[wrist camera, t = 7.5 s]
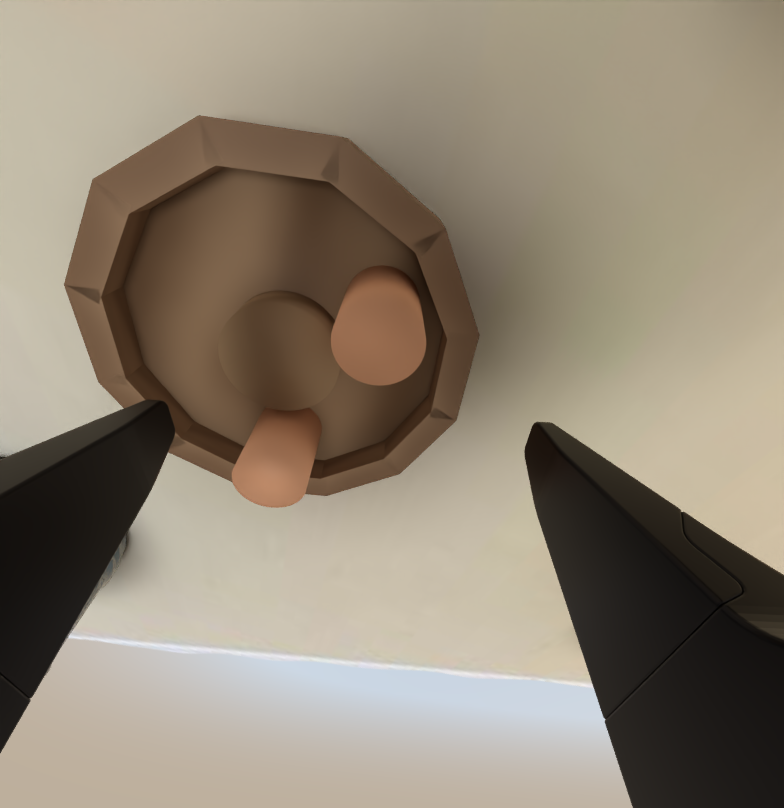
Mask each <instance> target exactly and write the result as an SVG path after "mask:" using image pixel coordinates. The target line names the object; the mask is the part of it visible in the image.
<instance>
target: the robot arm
mask: <svg viewBox="0 0 784 808" xmlns="http://www.w3.org/2000/svg"><path fill="white" fill-rule="evenodd" d="M174 437H175V426H174V423H173V420H172V416H171V413H170V410H169V407H168V405H167V403H166V402H165V401H163V400H144V401H141V402H139V403H136V404H134V405H131V406H129V407H127V408H124V409H122V410H119V411H117V412H114V413H112V414H110V415H107V416H105V417H102V418H100V419H97V420H95V421H93V422H90V423H88V424H85V425H83V426H80V427H78V428H76V429H73V430H71V431H68V432H66V433H63V434H61V435H59V436H56V437H54V438H51V439H49V440H47V441H44V442H42V443H39V444H37V445H34V446H32V447H30V448H27V449H25V450H22V451H20V452H17V453H15V454H13V455H10V456H8V457H5V458H3V459H0V753H1V751H2V749H3V748H4V746H5V744H6V742H7V741H8V739H9V737H10V735H11V734H12V732H13V730H14V729H15V727H16V725H17V723H18V722H19V720H20V718H21V717H22V715H23V713H24V711H25V710H26V708H27V706H28V704H29V702H30V699H29V698H32V696H33V695H34V693H35V692H36V690H37V688H38V686H39V684H40V683H41V681H42V679H43V678H44V676H45V674H46V672H47V671H48V669H49V667H50V666H51V664H52V662H53V660H54V659H55V657H56V655H57V653H58V652H59V650H60V648H61V646H62V645H63V643H64V641H65V639H66V638H67V636H68V634H69V633H70V631H71V629H72V627H73V626H74V624H75V622H76V620H77V619H78V617H79V615H80V613H81V612H82V610H83V608H84V606H85V605H86V603H87V601H88V599H89V598H90V596H91V594H92V593H93V591H94V589H95V587H96V586H97V584H98V582H99V580H100V579H101V577H102V575H103V573H104V572H105V570H106V568H107V566H108V565H109V563H110V561H111V560H112V558H113V556H114V554H115V553H116V551H117V549H118V547H119V546H120V544H121V542H122V540H123V539H124V537H125V535H126V533H127V532H128V530H129V528H130V526H131V525H132V523H133V521H134V520H135V518H136V516H137V514H138V513H139V511H140V509H141V507H142V506H143V504H144V502H145V500H146V499H147V497H148V495H149V493H150V491H151V489H152V487H153V485H154V483H155V481H156V479H157V476H158V474H159V472H160V469H161V467H162V465H163V462H164V460H165V458H166V456H167V453H168V451H169V449H170V446H171V444H172V442H173V439H174ZM525 460H526V465H527V470H528V475H529V480H530V485H531V490H532V495H533V500H534V505H535V509H536V512H537V516H538V519H539V522H540V525H541V528H542V531H543V534H544V537H545V540H546V543H547V547H548V550H549V553H550V556H551V559H552V562H553V565H554V568H555V571H556V574H557V577H558V580H559V583H560V586H561V589H562V592H563V595H564V598H565V601H566V604H567V607H568V611H569V614H570V617H571V620H572V623H573V626H574V629H575V632H576V635H577V638H578V641H579V644H580V647H581V650H582V653H583V656H584V659H585V662H586V665H587V668H588V672H589V675H590V678H591V681H592V684H593V687H594V690H595V693H596V696H597V699H598V702H599V705H600V708H601V711H602V714H603V717H604V718H605V719H606V720H605V724H606V727H607V730H608V733H609V736H610V739H611V742H612V746H613V748H614V751H615V755H616V758H617V761H618V764H619V767H620V770H621V773H622V776H623V779H624V782H625V785H626V788H627V791H628V794H629V797H630V800H631V803H632V806H633V808H784V575H783V574H781V573H780V572H778V571H776V570H775V569H773V568H771V567H770V566H768V565H767V564H765V563H763V562H762V561H760V560H758V559H757V558H755V557H753V556H752V555H750V554H749V553H747V552H745V551H744V550H742V549H740V548H739V547H737V546H736V545H734V544H732V543H731V542H729V541H727V540H726V539H724V538H723V537H721V536H720V535H718V534H717V533H715V532H714V531H712V530H711V529H709V528H708V527H706V526H705V525H703V524H701V523H700V522H699V521H697V520H696V519H694V518H693V517H691V516H690V515H688V514H687V513H685V512H681V510H680V509H679V508H678V507H676V506H675V505H673V504H672V503H670V502H669V501H667V500H666V499H664V498H663V497H661V496H660V495H658V494H657V493H655V492H654V491H652V490H651V489H650V488H648V487H647V486H645V485H644V484H642V483H641V482H639V481H638V480H636V479H635V478H633V477H632V476H630V475H629V474H627V473H626V472H624V471H623V470H621V469H620V468H618V467H617V466H615V465H614V464H612V463H611V462H609V461H608V460H606V459H605V458H603V457H602V456H601V455H599V454H598V453H596V452H595V451H593V450H592V449H590V448H589V447H587V446H586V445H584V444H583V443H581V442H580V441H578V440H577V439H575V438H574V437H572V436H571V435H569V434H568V433H566V432H565V431H563V430H562V429H560V428H559V427H558V426H556V425H555V424H553V423H550V422H536V423H534V424H533V426H532V428H531V431H530V434H529V437H528V440H527V443H526V446H525Z"/></svg>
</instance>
